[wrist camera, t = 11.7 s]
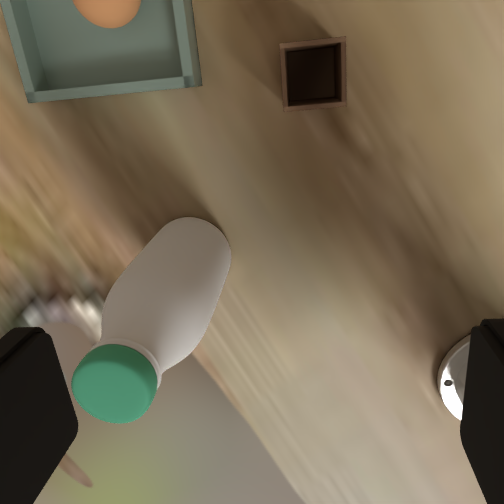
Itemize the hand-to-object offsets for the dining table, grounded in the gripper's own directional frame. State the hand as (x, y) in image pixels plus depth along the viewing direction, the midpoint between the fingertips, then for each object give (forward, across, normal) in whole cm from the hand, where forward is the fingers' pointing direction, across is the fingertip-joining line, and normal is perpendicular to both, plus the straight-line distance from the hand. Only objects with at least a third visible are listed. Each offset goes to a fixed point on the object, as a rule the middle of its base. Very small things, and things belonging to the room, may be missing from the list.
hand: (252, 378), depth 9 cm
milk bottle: (+30, +10, +9) cm, 33 cm away
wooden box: (+30, -2, -6) cm, 30 cm away
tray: (+30, +14, -13) cm, 35 cm away
